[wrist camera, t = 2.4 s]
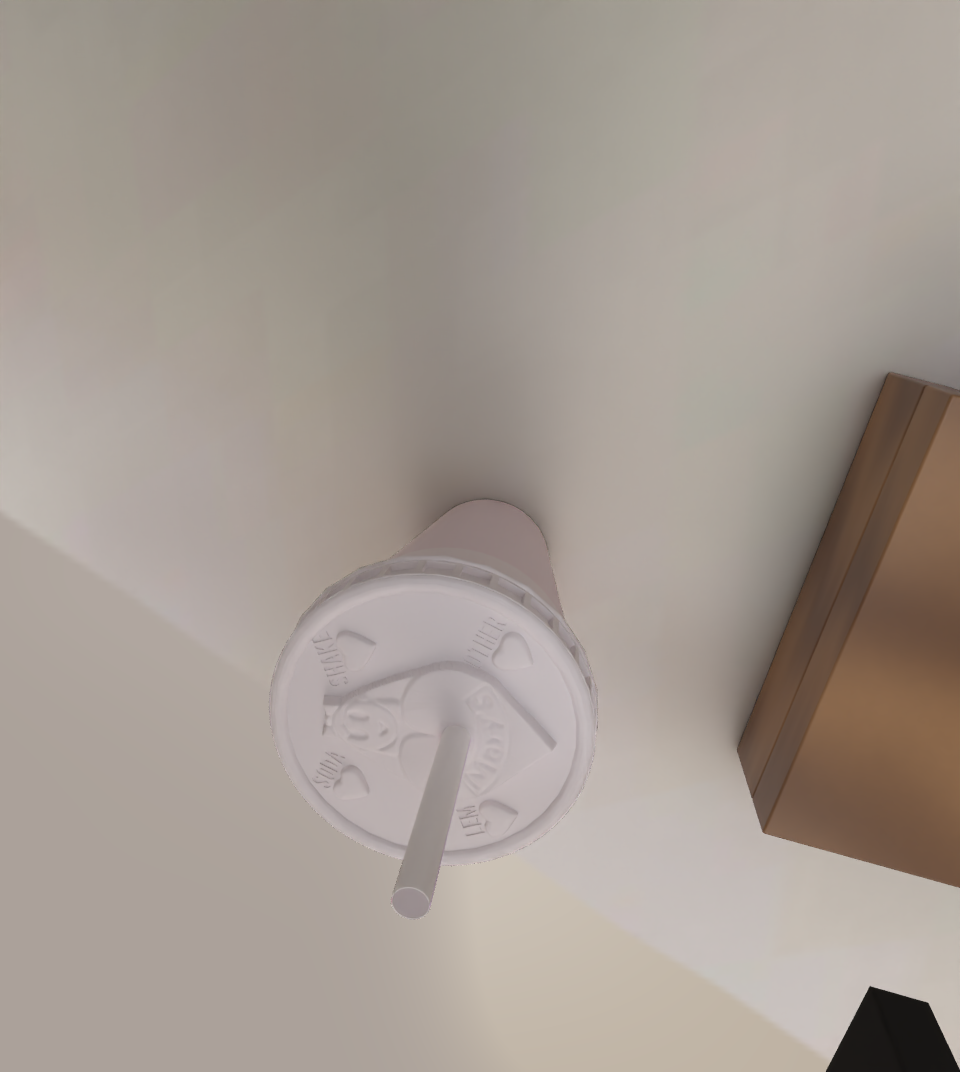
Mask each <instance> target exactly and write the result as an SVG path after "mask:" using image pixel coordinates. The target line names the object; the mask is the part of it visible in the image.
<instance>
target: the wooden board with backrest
mask: <svg viewBox="0 0 960 1072" xmlns="http://www.w3.org/2000/svg"><path fill="white" fill-rule="evenodd" d="M737 752H738V755H739V758H740V762H741V765H742V768H743V771H744V774H745V778H746V781H747V784H748V787H749V790H750V794H751V797H752V798H753V803H754V806H755V809H756V813H757V816H758V819H759V822H760V825H761V829H762V832H763V833H765V834H768V835H772V836H776V837H779V838H783V839H786V840H790V841H794V842H797V843H801V844H804V845H808V846H812V847H815V848H819V849H822V850H826V851H830V852H833V853H837V854H840V855H844V856H848V857H851V858H855V859H858V860H862V861H866V862H869V863H873V864H876V865H880V866H884V867H887V868H891V869H894V870H898V871H902V872H905V873H909V874H912V875H916V876H919V877H923V878H927V879H930V880H934V881H937V882H941V883H945V884H948V885H952V886H955V887H959V888H960V391H959V390H956V389H953V388H950V387H947V386H943V385H939V384H935V383H931V382H927V381H923V380H919V379H916V378H912V377H908V376H904V375H900V374H896V373H889V374H888V376H887V378H886V381H885V383H884V386H883V388H882V391H881V393H880V396H879V398H878V401H877V403H876V406H875V408H874V411H873V413H872V416H871V418H870V421H869V423H868V426H867V428H866V431H865V433H864V435H863V438H862V440H861V443H860V445H859V448H858V450H857V453H856V455H855V458H854V460H853V463H852V465H851V468H850V470H849V473H848V475H847V478H846V480H845V483H844V485H843V488H842V490H841V493H840V495H839V498H838V500H837V503H836V505H835V508H834V510H833V513H832V515H831V518H830V520H829V523H828V525H827V527H826V530H825V532H824V535H823V537H822V540H821V542H820V545H819V547H818V550H817V552H816V555H815V557H814V560H813V562H812V565H811V567H810V570H809V572H808V575H807V577H806V580H805V582H804V585H803V587H802V590H801V592H800V595H799V597H798V600H797V602H796V605H795V607H794V610H793V612H792V614H791V617H790V619H789V622H788V624H787V627H786V629H785V632H784V634H783V637H782V639H781V642H780V644H779V647H778V649H777V652H776V654H775V657H774V659H773V662H772V664H771V667H770V669H769V672H768V674H767V677H766V679H765V682H764V684H763V687H762V689H761V692H760V694H759V697H758V699H757V702H756V704H755V706H754V709H753V711H752V714H751V716H750V719H749V721H748V724H747V726H746V729H745V731H744V734H743V736H742V739H741V741H740V744H739V746H738V749H737Z"/></svg>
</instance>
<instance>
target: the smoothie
mask: <svg viewBox="0 0 960 1072" xmlns="http://www.w3.org/2000/svg"><path fill="white" fill-rule="evenodd" d="M269 713H270V725H271V730H272V736H273V739H274V743H275V747H276V750H277V753H278V755H279V758H280V760H281V763H282V765H283V767H284V769H285V770H286V773H287V775H288V776H289V778H290V780H291V781H292V783H293V784H294V786H295V788H296V789H297V790H298V792H299V793H300V794H301V795H302V797H303V798H304V800H305V801H306V802H307V803H308V804H309V805H310V806H311V807H312V808H313V809H314V811H315V812H317V813H318V814H319V815H320V816H321V817H322V818H323V819H324V820H325V821H326V822H328V823H329V824H330V825H331V826H333V827H334V828H335V829H337V830H338V831H339V832H341V833H343V834H344V835H346V836H347V837H349V838H351V839H352V840H354V841H356V842H357V843H359V844H361V845H363V846H365V847H367V848H369V849H372V850H374V851H376V852H379V853H381V854H384V855H387V856H390V857H393V858H397V859H400V860H403V862H402V865H401V868H400V871H399V875H398V878H397V881H396V884H395V888H394V891H393V894H392V897H391V904H392V907H393V909H394V910H395V912H396V913H397V914H398V915H400V916H402V917H404V918H407V919H413V920H414V919H420V918H422V917H424V916H425V915H426V914H427V913H428V912H429V910H430V906H431V902H432V898H433V894H434V890H435V885H436V881H437V877H438V873H439V869H440V866H441V865H442V866H455V865H467V864H475V863H481V862H486V861H490V860H494V859H497V858H500V857H503V856H506V855H509V854H511V853H514V852H516V851H518V850H520V849H523V848H524V847H526V846H528V845H530V844H531V843H533V842H535V841H536V840H538V839H539V838H541V837H542V836H543V835H545V834H546V833H547V832H549V831H550V830H551V829H552V828H553V827H554V826H555V825H557V824H558V823H559V822H560V820H561V819H562V818H563V817H564V816H565V815H566V814H567V813H568V811H569V810H570V809H571V807H572V806H573V805H574V803H575V802H576V800H577V798H578V797H579V795H580V793H581V792H582V790H583V788H584V785H585V783H586V781H587V779H588V776H589V773H590V769H591V766H592V762H593V757H594V752H595V742H596V732H597V728H598V712H597V687H596V684H595V681H594V678H593V675H592V671H591V668H590V665H589V662H588V659H587V656H586V653H585V650H584V648H583V647H582V645H581V644H580V642H579V641H578V639H577V638H576V636H575V635H574V633H573V632H572V630H571V629H570V627H569V626H568V624H567V623H566V621H565V620H564V616H563V611H562V607H561V603H560V599H559V595H558V591H557V587H556V582H555V578H554V574H553V570H552V566H551V562H550V558H549V554H548V549H547V546H546V542H545V539H544V537H543V535H542V533H541V531H540V529H539V528H538V526H537V525H536V524H535V522H534V521H533V520H532V519H531V518H530V517H529V516H528V515H526V514H525V513H524V512H523V511H521V510H520V509H518V508H516V507H514V506H512V505H510V504H507V503H504V502H501V501H496V500H487V499H483V500H473V501H469V502H465V503H462V504H460V505H458V506H456V507H454V508H452V509H451V510H449V511H448V512H447V513H445V514H444V515H443V516H442V517H440V518H439V519H438V520H437V521H435V522H434V523H433V524H432V525H430V526H429V527H428V528H427V529H425V530H424V531H423V532H422V533H421V534H419V535H418V536H417V537H416V538H414V539H413V540H412V541H411V542H409V543H408V544H407V545H406V546H404V547H403V548H402V549H401V550H399V551H398V552H397V553H396V554H394V555H393V556H392V557H391V558H390V559H388V560H385V561H382V562H378V563H374V564H371V565H367V566H364V567H361V568H359V569H357V570H356V571H354V572H352V573H351V574H349V575H347V576H346V577H344V578H342V579H341V580H339V581H338V582H336V583H334V584H333V585H331V586H329V587H328V588H326V589H325V590H324V591H323V593H322V594H321V595H320V596H319V597H318V598H317V599H316V600H315V601H314V602H313V604H312V605H311V606H310V607H309V608H308V609H307V610H306V611H305V612H304V614H303V615H302V616H301V617H300V619H299V621H298V623H297V625H296V628H295V630H294V632H293V633H292V635H291V636H290V638H289V639H288V641H287V642H286V644H285V646H284V648H283V650H282V652H281V654H280V656H279V659H278V661H277V664H276V666H275V670H274V674H273V677H272V682H271V688H270V698H269Z"/></svg>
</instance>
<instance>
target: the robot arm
mask: <svg viewBox="0 0 960 1072" xmlns="http://www.w3.org/2000/svg"><path fill="white" fill-rule="evenodd" d="M826 1072H960V1069H959V1067H958V1065H957V1063H956V1061H955V1059H954V1057H953V1054H952V1052H951V1050H950V1048H949V1046H948V1044H947V1042H946V1040H945V1038H944V1035H943V1033H942V1031H941V1029H940V1027H939V1025H938V1023H937V1021H936V1018H935V1016H934V1014H933V1012H932V1010H931V1008H930V1006H929V1004H928V1003H927V1002H923V1001H920V1000H916V999H913V998H909V997H906V996H902V995H899V994H895V993H892V992H888V991H885V990H881V989H878V988H874V987H871V986H870V987H869V989H868V991H867V993H866V995H865V997H864V999H863V1001H862V1003H861V1005H860V1006H859V1008H858V1010H857V1012H856V1014H855V1016H854V1018H853V1020H852V1022H851V1024H850V1026H849V1028H848V1030H847V1032H846V1034H845V1035H844V1037H843V1039H842V1041H841V1043H840V1045H839V1047H838V1049H837V1051H836V1053H835V1055H834V1057H833V1059H832V1061H831V1062H830V1064H829V1066H828V1068H827V1070H826Z"/></svg>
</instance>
